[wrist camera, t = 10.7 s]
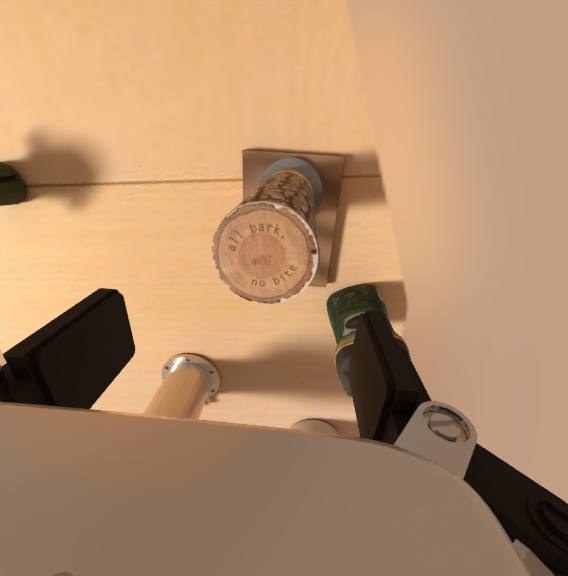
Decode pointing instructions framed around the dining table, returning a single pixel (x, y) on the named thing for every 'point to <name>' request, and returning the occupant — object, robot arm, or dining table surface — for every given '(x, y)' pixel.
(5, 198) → the character mug
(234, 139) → the dining table surface
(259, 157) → the board
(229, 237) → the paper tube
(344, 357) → the coffee jar
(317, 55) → the dining table surface
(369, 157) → the dining table surface
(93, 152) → the dining table surface
